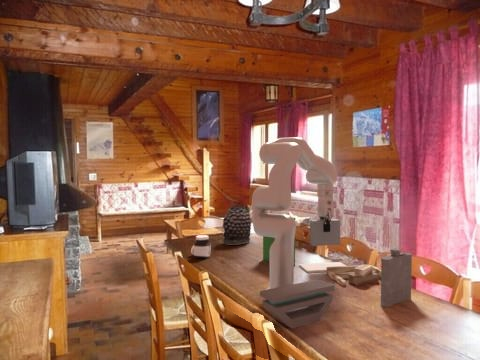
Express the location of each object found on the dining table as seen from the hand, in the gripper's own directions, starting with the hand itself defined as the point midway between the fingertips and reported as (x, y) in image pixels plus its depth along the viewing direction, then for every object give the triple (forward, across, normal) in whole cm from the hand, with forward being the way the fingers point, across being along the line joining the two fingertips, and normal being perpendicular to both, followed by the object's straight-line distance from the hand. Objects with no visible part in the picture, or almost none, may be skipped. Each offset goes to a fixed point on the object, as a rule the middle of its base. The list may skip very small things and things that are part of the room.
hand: (324, 230), depth 192 cm
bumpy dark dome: (+19, +65, +32) cm, 75 cm away
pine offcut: (+15, -24, -8) cm, 29 cm away
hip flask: (+19, -48, -8) cm, 52 cm away
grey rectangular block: (+7, 0, 0) cm, 7 cm away
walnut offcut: (+19, -24, -8) cm, 32 cm away
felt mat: (+19, 0, 0) cm, 19 cm away
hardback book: (+19, +15, +19) cm, 31 cm away
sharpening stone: (+19, -57, +33) cm, 69 cm away
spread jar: (+19, +35, +58) cm, 70 cm away
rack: (+19, -19, -8) cm, 28 cm away
